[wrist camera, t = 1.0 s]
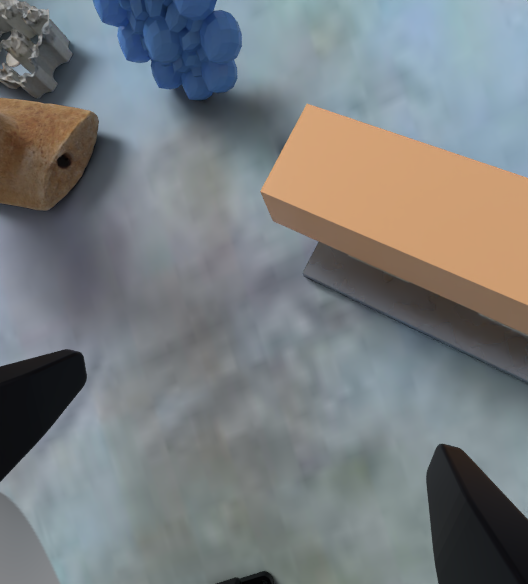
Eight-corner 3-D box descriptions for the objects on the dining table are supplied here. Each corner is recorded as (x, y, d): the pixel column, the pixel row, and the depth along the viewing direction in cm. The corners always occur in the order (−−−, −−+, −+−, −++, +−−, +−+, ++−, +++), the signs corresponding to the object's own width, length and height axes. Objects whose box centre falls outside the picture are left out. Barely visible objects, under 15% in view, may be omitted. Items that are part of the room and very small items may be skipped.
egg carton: (-22, 78, 33) (-69, 43, 29) (14, 19, 34) (-28, -23, 30) (47, 109, 31) (5, 75, 27) (84, 45, 31) (49, 2, 27)
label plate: (613, 251, 20) (632, 246, 19) (546, 392, 19) (561, 396, 18) (363, 160, 24) (365, 150, 22) (303, 275, 23) (302, 272, 22)
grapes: (282, 68, 26) (248, -148, 15) (247, 138, 26) (185, -26, 14) (169, 38, 29) (65, -165, 17) (137, 101, 29) (8, -62, 17)
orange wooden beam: (692, 334, 18) (1072, 331, 9) (656, 413, 17) (1008, 493, 8) (312, 182, 23) (305, 84, 14) (281, 240, 23) (254, 179, 14)
